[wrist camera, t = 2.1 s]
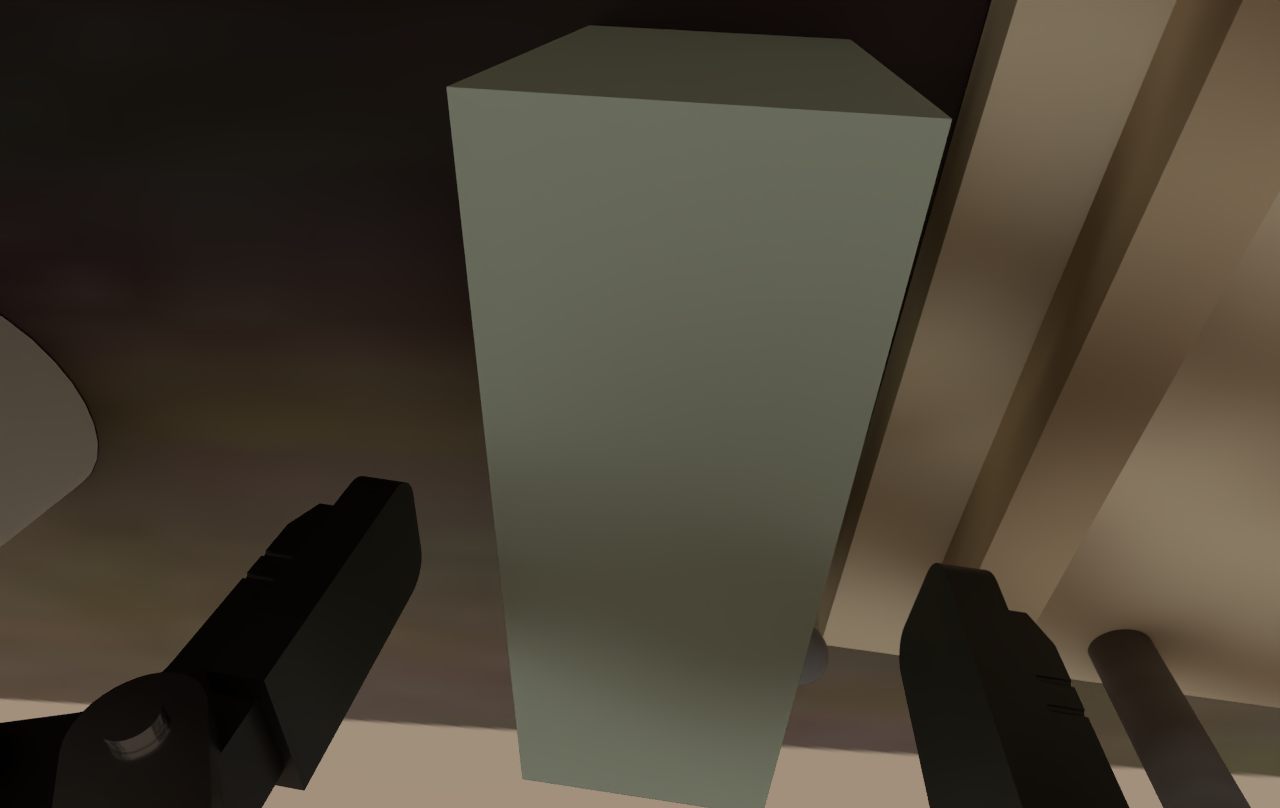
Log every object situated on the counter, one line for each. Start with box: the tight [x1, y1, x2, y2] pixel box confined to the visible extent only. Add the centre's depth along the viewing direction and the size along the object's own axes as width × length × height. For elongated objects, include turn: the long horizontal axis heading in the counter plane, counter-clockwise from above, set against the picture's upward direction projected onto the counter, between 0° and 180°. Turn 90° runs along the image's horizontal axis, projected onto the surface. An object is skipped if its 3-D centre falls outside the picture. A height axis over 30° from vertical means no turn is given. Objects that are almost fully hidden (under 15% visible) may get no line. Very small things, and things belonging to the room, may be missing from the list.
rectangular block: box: [447, 25, 952, 808], centre depth 12 cm, size 12×6×7 cm, turn 178°
